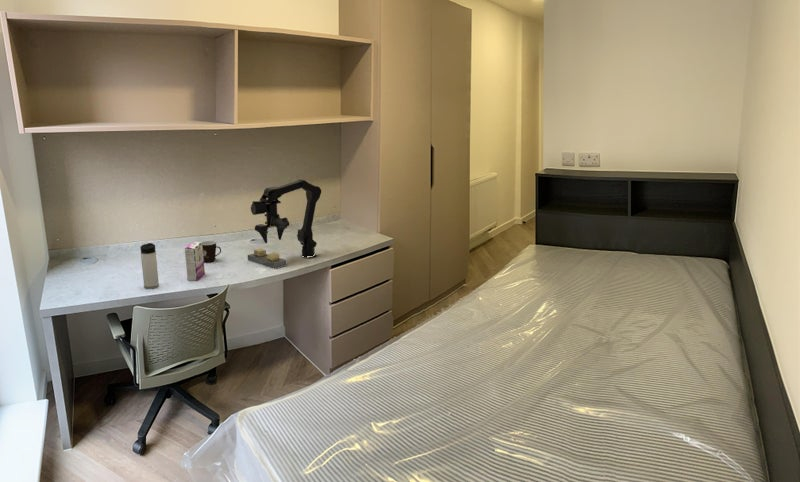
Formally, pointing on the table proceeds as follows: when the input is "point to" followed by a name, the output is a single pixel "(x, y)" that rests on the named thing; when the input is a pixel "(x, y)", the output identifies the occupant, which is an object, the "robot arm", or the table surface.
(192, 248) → the candy bar box
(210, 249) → the coffee mug
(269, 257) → the tan wooden block
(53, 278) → the table surface
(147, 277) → the travel mug
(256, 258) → the grey slotted base
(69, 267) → the table surface
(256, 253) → the seated nut
